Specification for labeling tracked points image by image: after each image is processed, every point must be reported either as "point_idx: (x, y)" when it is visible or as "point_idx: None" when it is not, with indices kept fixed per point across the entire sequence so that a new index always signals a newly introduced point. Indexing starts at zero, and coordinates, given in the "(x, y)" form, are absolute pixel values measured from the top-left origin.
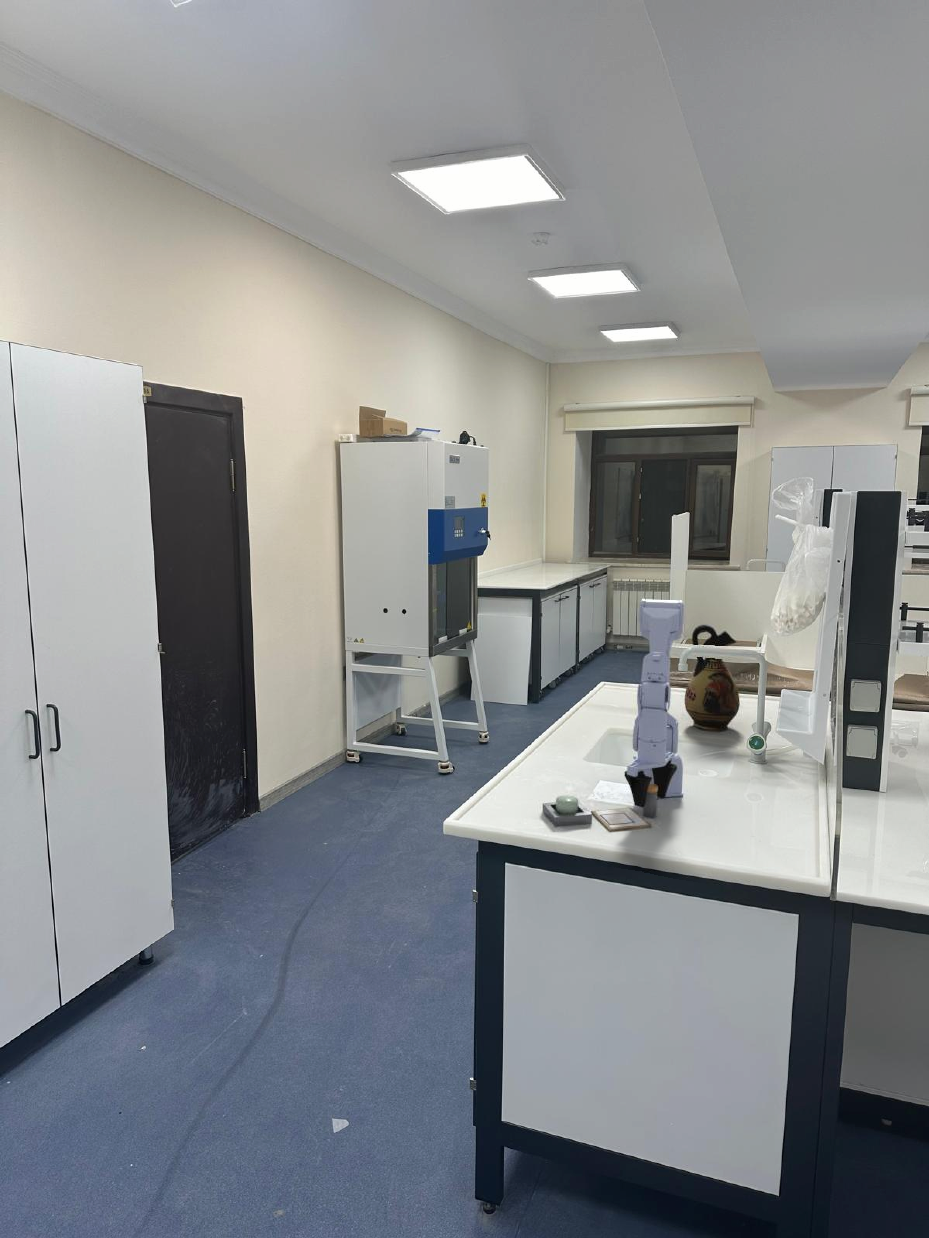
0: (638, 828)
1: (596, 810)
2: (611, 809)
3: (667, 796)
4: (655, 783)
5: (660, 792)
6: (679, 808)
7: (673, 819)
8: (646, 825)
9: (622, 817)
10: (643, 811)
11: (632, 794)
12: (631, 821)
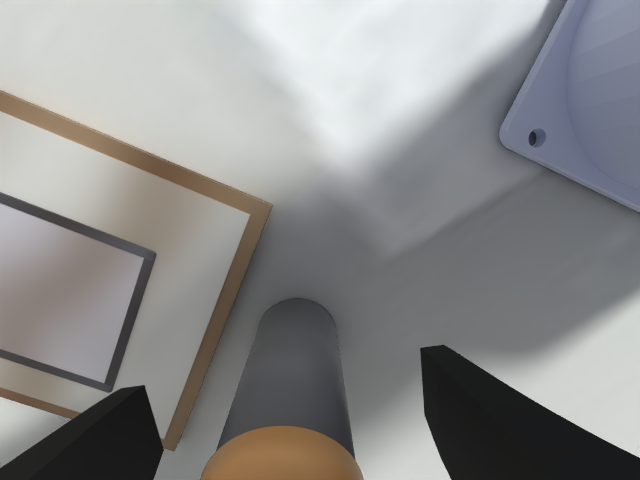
0: None
1: (14, 98)
2: (129, 152)
3: (637, 210)
4: (489, 432)
5: (441, 425)
6: (518, 359)
7: (359, 435)
8: None
9: (93, 303)
10: (255, 336)
11: (14, 464)
12: (103, 372)
